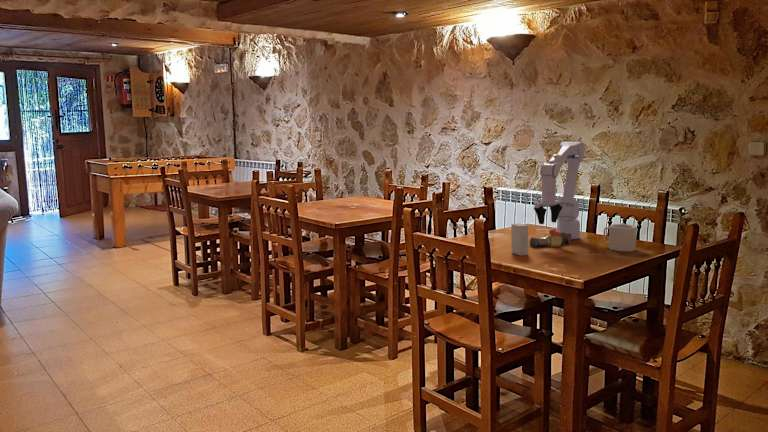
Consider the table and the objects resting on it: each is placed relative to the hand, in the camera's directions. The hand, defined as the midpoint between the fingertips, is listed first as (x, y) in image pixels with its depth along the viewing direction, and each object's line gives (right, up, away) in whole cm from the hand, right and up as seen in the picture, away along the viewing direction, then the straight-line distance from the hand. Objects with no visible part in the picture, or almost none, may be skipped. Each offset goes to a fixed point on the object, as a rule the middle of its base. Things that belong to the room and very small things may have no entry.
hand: (547, 223), depth 263 cm
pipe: (+2, -10, +3) cm, 10 cm away
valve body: (+3, -10, +3) cm, 10 cm away
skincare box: (-15, -13, -14) cm, 24 cm away
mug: (+29, -11, -5) cm, 31 cm away
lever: (+4, -5, -2) cm, 7 cm away
